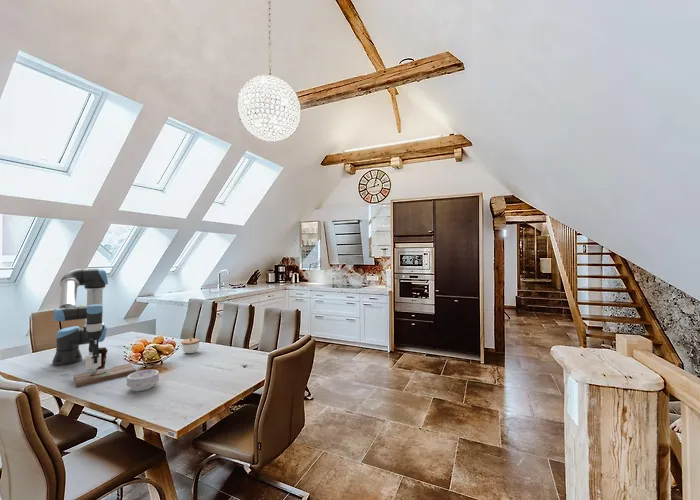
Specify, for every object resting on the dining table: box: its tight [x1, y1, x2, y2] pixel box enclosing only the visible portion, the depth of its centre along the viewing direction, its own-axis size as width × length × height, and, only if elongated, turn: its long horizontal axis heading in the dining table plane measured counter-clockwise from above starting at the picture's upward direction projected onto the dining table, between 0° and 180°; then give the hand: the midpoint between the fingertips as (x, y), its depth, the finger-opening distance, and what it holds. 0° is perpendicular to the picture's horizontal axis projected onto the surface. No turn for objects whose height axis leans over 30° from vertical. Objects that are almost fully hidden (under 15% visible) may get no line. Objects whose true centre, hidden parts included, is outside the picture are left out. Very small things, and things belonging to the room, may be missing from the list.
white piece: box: [85, 354, 113, 375], centre depth 186 cm, size 2×12×12 cm, turn 137°
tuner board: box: [73, 363, 137, 388], centre depth 188 cm, size 15×28×3 cm, turn 137°
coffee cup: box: [96, 347, 108, 370], centre depth 200 cm, size 9×8×13 cm
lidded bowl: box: [181, 337, 201, 354], centre depth 234 cm, size 13×13×11 cm
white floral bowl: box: [126, 369, 160, 392], centre depth 174 cm, size 15×15×8 cm
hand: (93, 365), depth 184 cm, fingers open, 13 cm apart
